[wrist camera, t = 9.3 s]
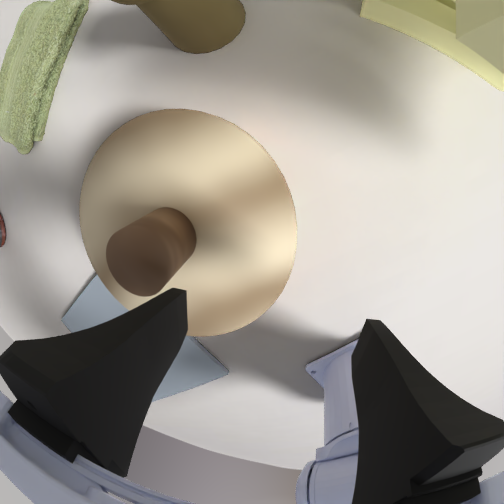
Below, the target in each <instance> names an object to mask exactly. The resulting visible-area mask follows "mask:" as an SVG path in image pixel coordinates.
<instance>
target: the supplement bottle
mask: <svg viewBox="0 0 504 504" xmlns="http://www.w3.org/2000/svg"><path fill="white" fill-rule="evenodd" d="M5 239H6V231H5V225H4V221H3V218H2V216H1V214H0V247H1V246H3V245H4V243H5Z"/></svg>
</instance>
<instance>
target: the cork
mask: <svg viewBox="0 0 504 504" xmlns="http://www.w3.org/2000/svg"><path fill="white" fill-rule="evenodd" d="M111 1H114V2H117V3H120V4H126V5H137V6H138V7H139V8H140V9H141V10H142V11H143V12H144V13H145V14H146V15H147V16H148V17H149V18H150V19H151V21H152V22H153V23H154V24H155V25H156V26H157V27H158V28H159V29H160V30H161V31H162V32H163V33H164V34H165V35H166V37H167V38H168V39H169V40H170V41H171V42H172V43H173V44H174V45H175V46H176V47H177V48H179V49H181V50H182V51H184V52H189V53H194V54H199V53H208V52H211V51H214V50H217V49H220V48H222V47H223V46H225V45H227V44H228V43H230V42H231V41H232V40H233V39H234V38H235V37H236V36H237V35H238V34H239V33H240V31H241V29H242V27H243V25H244V23H245V14H246V13H245V10H244V7H243V4H242V3H241V2H240V1H239V0H111Z"/></svg>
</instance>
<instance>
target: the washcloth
mask: <svg viewBox="0 0 504 504" xmlns="http://www.w3.org/2000/svg"><path fill="white" fill-rule="evenodd" d="M88 4H89V0H56V1H54V2H49V1H37V2H33V3H32V4H30V5H28V6H27V7H26V8H25V9H24V10H23V12H22V13H21V15H20V17H19V20H18V22H17V25H16V28H15V32H14V35H13V37H12V39H11V42H10V44H9V46H8V48H7V50H6V53H5V57H4V60H3V64H2V67H1V72H0V136H1V137H2V139H3V140H4V141H5V142H9V143H11V144H13V145H14V146H15V147H16V148H17V150H18V152H19V153H21V154H28V153H29V152H30V150H31V148H32V147H33V141H42V139H43V135H44V134H45V133H44V131H45V126H46V122H47V119H48V113H49V109H50V105H51V102H52V99H53V96H54V91H55V88H56V86H57V82H58V79H59V77H60V73H61V70H62V68H63V64H64V62H65V59H66V57H67V54H68V51H69V49H70V47H71V46H72V42H73V41H74V36H75V34H76V32H77V31H78V27H79V26H80V25H81V22H82V19H83V17H84V15H85V14H86V12H87V10H88Z"/></svg>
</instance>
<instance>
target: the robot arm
mask: <svg viewBox="0 0 504 504" xmlns="http://www.w3.org/2000/svg"><path fill="white" fill-rule="evenodd" d="M187 331H188V317H187V290H183V289H178V288H171V289H169V290H167V291H165V292H163V293H161V294H159V295H158V296H156V297H154V298H152V299H151V300H149V301H147V302H145V303H143V304H141V305H140V306H138V307H136V308H134V309H132V310H130V311H128V312H126V313H124V314H122V315H120V316H118V317H116V318H114V319H111V320H109V321H107V322H104V323H102V324H99V325H96V326H94V327H91V328H88V329H84V330H81V331H77V332H74V333H70V334H66V335H61V336H56V337H50V338H44V339H34V340H19V341H15V342H14V343H13V344H12V345H11V346H10V347H9V348H8V349H7V350H6V351H5V352H4V353H3V354H2V355H1V356H0V374H1V376H2V377H3V379H4V381H5V382H6V384H7V385H8V387H9V388H10V390H11V391H12V393H13V394H14V395H15V397H16V398H17V401H16V402H15V403H14V404H13V403H12V402H11V401H10V399H9V398H8V397H7V396H5V395H4V394H3V393H2V392H1V391H0V470H1V471H2V472H3V473H4V474H5V475H6V476H7V477H8V478H9V479H10V481H12V483H13V484H14V485H15V486H16V487H17V488H18V489H19V490H20V491H21V492H22V493H23V494H24V495H25V496H27V497H28V498H29V499H30V500H31V501H32V502H33V503H34V504H126V503H124V502H122V501H120V500H118V499H116V498H114V497H113V496H111V495H109V494H108V492H110V493H112V494H114V495H116V496H118V497H121V498H123V499H125V500H127V501H130V502H132V503H134V504H195V503H192V502H188V501H184V500H181V499H178V498H175V497H172V496H168V495H166V494H162V493H160V492H157V491H154V490H152V489H149V488H146V487H144V486H141V485H139V484H136V483H134V482H132V481H129V480H127V479H125V478H124V477H126V476H127V474H128V469H129V466H130V462H131V458H132V455H133V451H134V448H135V445H136V442H137V438H138V436H139V433H140V430H141V427H142V425H143V422H144V419H145V417H146V414H147V411H148V409H149V407H150V404H151V402H152V399H153V397H154V395H155V393H156V391H157V389H158V387H159V386H160V384H161V382H162V380H163V379H164V377H165V375H166V373H167V372H168V370H169V368H170V367H171V365H172V363H173V361H174V360H175V358H176V356H177V354H178V352H179V351H180V349H181V346H182V344H183V341H184V339H185V336H186V334H187ZM313 370H314V371H313ZM306 371H307V372H308V373H309V374H310V375H311V376H312V377H313V378H314V379H315V380H316V381H317V382H318V383H319V384H320V385H321V386H322V387H323V388H324V447H321V448H318V449H316V460H314V461H310V462H308V463H307V464H306V465H305V467H304V468H303V470H302V472H301V473H300V475H299V477H298V481H297V485H296V504H504V471H502V472H500V473H498V474H496V475H494V476H492V477H489V478H487V479H485V480H483V481H482V482H480V483H479V481H478V477H479V476H481V475H482V469H481V467H482V466H483V465H484V464H485V463H486V462H488V461H489V460H490V459H492V458H493V457H494V456H495V455H496V454H498V453H499V452H500V451H501V450H502V449H503V448H504V421H503V420H502V419H499V418H497V417H495V416H493V415H490V414H488V413H486V412H484V411H482V410H480V409H478V408H477V407H475V406H473V405H471V404H470V403H468V402H466V401H465V400H463V399H462V398H460V397H459V396H457V395H456V394H455V393H453V392H452V391H450V390H449V389H448V388H447V387H445V386H444V385H443V384H442V383H440V382H439V381H438V380H437V379H436V378H435V377H433V376H432V375H431V374H430V373H429V372H428V371H427V370H426V369H425V368H424V367H423V366H422V365H421V364H420V363H419V362H418V361H417V360H416V359H415V358H414V357H413V356H412V355H411V354H410V352H409V351H408V350H407V349H406V348H405V347H404V346H403V345H402V344H401V342H400V341H399V340H398V339H397V338H396V337H395V336H394V334H393V333H392V332H391V331H390V330H389V329H388V328H387V327H386V326H385V325H384V324H383V323H382V322H381V321H380V320H372V319H366V322H365V324H364V327H363V329H362V332H361V334H360V337H359V339H357V340H355V341H353V342H352V343H350V344H348V345H346V346H344V347H342V348H340V349H338V350H336V351H334V352H332V353H330V354H328V355H326V356H324V357H322V358H320V359H318V360H315V361H313V362H311V363H309V364H307V365H306ZM107 491H108V492H107Z"/></svg>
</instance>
